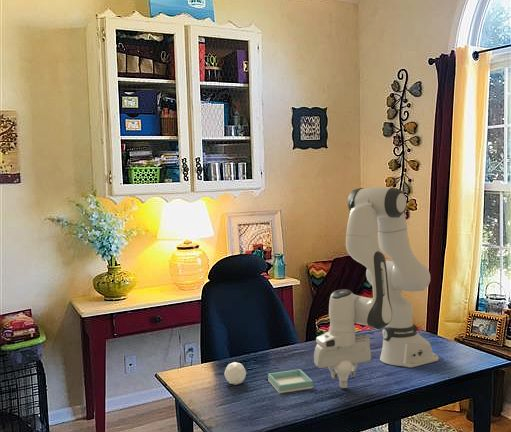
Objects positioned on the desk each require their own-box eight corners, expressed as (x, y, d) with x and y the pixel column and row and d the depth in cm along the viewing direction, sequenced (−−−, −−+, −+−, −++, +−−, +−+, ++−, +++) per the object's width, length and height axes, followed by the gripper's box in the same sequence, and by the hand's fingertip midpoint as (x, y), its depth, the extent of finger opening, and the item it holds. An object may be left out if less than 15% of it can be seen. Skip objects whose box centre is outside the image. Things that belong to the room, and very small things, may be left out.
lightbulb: (343, 393, 196) (342, 361, 195) (330, 387, 201) (329, 356, 200) (356, 388, 199) (356, 357, 198) (343, 383, 204) (342, 352, 203)
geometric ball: (229, 391, 208) (217, 372, 210) (247, 378, 212) (234, 360, 213) (235, 387, 201) (222, 368, 203) (253, 374, 205) (240, 355, 207)
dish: (300, 375, 213) (300, 369, 213) (313, 388, 201) (312, 380, 201) (268, 380, 209) (268, 373, 209) (279, 393, 197) (279, 385, 197)
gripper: (365, 331, 204) (366, 369, 206) (311, 338, 199) (312, 377, 200) (374, 336, 198) (374, 375, 200) (318, 343, 193) (319, 383, 194)
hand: (343, 376), depth 200 cm, fingers closed on lightbulb, 5 cm apart
